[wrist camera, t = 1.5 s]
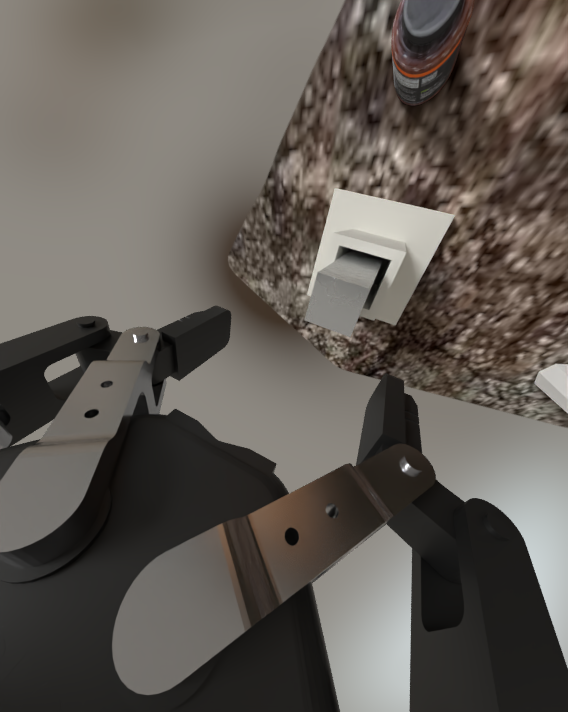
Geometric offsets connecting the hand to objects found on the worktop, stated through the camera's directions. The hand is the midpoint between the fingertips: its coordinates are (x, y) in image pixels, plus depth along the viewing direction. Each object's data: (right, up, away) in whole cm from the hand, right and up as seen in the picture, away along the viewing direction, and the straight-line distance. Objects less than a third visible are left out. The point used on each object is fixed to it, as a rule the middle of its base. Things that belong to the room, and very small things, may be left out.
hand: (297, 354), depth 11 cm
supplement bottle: (+15, +32, +14) cm, 38 cm away
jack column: (+12, +14, +24) cm, 30 cm away
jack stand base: (+13, +15, +25) cm, 32 cm away
